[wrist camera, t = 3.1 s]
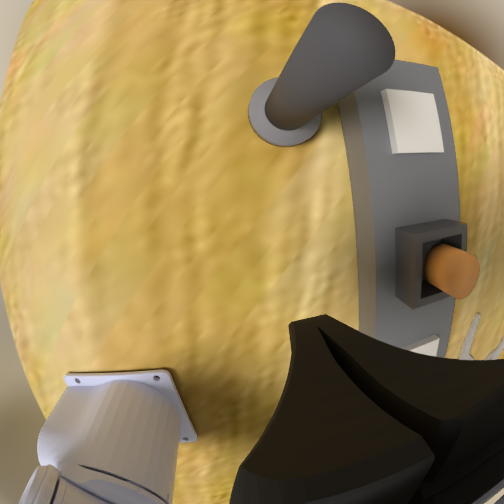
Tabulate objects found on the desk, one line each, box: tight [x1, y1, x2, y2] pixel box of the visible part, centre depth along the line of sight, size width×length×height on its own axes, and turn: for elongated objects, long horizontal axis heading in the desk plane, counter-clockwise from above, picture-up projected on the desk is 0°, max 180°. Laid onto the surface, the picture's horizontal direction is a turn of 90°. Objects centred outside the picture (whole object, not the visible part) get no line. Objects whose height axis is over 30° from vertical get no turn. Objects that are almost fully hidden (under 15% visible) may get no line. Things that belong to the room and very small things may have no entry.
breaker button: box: [423, 243, 479, 299], centre depth 13 cm, size 2×2×2 cm
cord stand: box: [248, 3, 395, 147], centre depth 10 cm, size 4×4×10 cm
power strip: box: [338, 60, 467, 358], centre depth 15 cm, size 7×24×4 cm, turn 9°
